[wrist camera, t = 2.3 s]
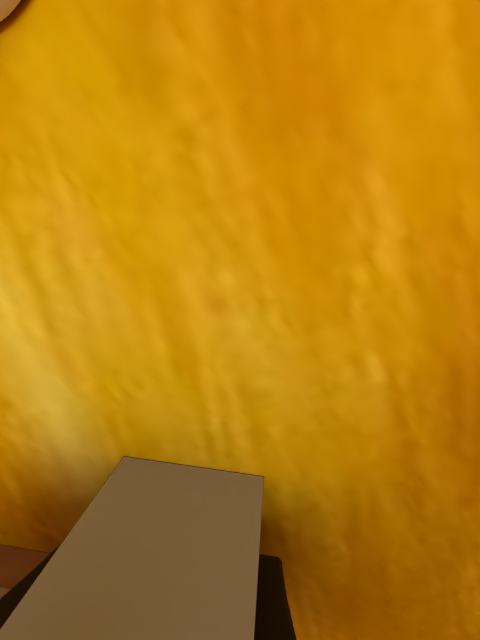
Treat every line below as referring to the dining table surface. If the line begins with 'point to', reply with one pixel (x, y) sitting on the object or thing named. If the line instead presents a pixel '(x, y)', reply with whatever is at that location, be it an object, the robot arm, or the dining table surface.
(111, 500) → the block
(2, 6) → the supplement bottle
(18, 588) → the robot arm
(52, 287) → the dining table surface
